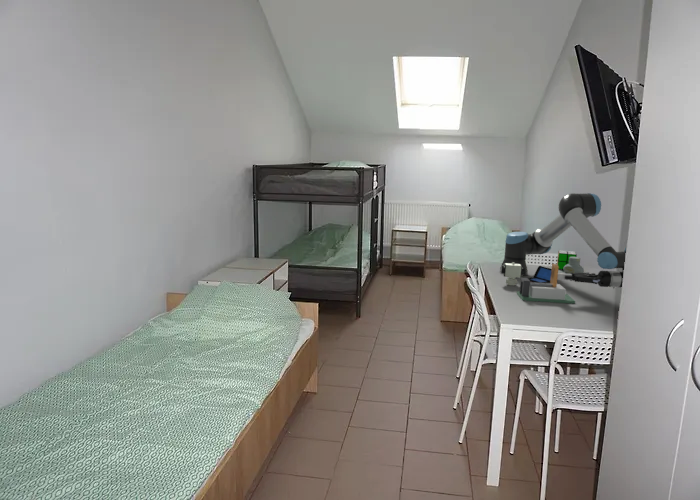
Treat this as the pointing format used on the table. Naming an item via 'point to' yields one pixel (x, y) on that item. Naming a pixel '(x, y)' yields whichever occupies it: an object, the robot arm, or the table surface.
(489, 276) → the table surface
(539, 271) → the handheld game console
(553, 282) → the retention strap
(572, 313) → the table surface
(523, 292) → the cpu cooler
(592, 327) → the table surface
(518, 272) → the pneumatic valve
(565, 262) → the puzzle cube
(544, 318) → the table surface
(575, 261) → the air freshener
